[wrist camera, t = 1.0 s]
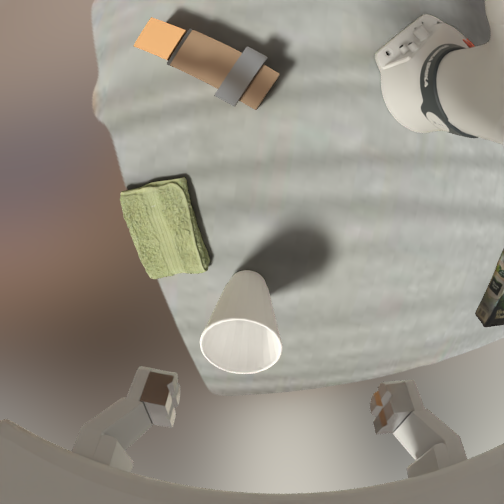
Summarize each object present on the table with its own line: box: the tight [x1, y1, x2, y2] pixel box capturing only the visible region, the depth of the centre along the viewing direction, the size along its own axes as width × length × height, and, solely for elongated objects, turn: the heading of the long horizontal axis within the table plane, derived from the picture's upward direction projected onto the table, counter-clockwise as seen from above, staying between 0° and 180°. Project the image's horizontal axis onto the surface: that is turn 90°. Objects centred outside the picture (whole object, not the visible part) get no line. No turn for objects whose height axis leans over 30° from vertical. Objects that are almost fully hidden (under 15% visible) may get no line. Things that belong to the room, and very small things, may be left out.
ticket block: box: [167, 28, 280, 110], centre depth 34 cm, size 8×14×6 cm, turn 58°
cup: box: [200, 270, 283, 374], centre depth 47 cm, size 12×12×16 cm
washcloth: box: [120, 177, 210, 279], centre depth 49 cm, size 13×18×3 cm
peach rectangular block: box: [134, 17, 187, 61], centre depth 32 cm, size 5×6×5 cm
